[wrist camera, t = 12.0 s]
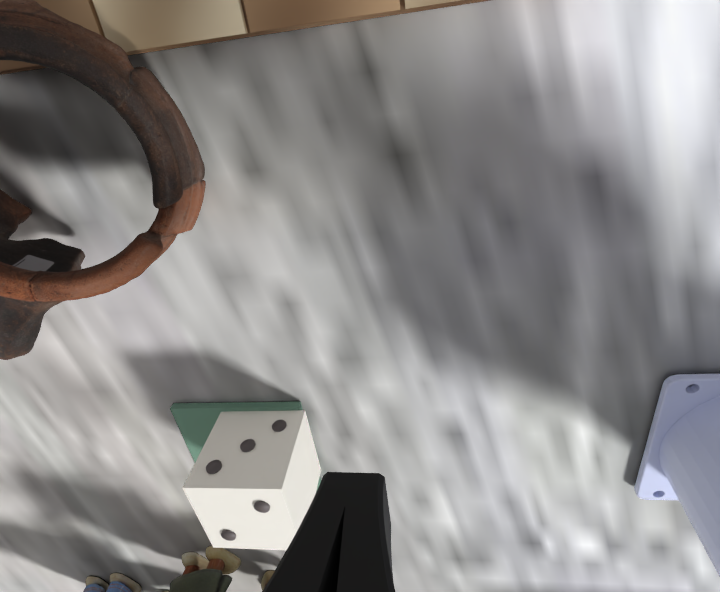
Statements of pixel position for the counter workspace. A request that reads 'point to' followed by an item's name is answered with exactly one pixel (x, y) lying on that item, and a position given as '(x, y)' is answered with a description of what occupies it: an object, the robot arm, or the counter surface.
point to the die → (254, 479)
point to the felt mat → (203, 416)
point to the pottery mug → (159, 141)
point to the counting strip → (212, 19)
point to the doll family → (185, 575)
